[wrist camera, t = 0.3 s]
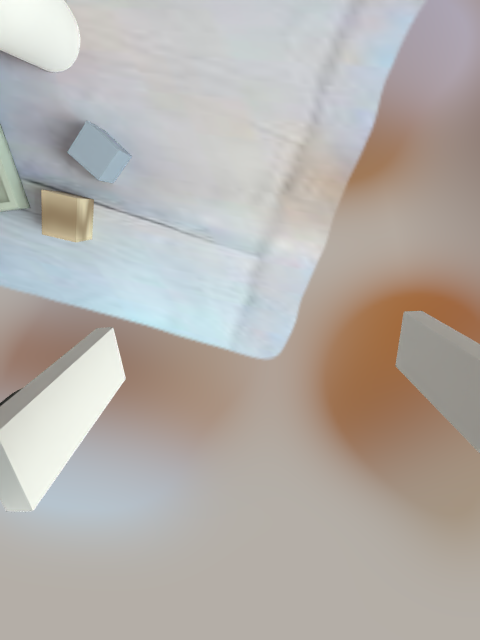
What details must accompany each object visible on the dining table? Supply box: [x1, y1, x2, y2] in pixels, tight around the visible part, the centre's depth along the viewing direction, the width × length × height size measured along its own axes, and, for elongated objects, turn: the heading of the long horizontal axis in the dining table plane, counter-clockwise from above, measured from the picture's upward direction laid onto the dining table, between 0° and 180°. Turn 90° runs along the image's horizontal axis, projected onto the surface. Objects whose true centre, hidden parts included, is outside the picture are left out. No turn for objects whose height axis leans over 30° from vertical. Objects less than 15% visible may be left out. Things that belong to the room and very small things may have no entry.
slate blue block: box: [67, 121, 132, 183], centre depth 33 cm, size 4×4×4 cm
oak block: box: [41, 190, 94, 242], centre depth 35 cm, size 5×4×4 cm
